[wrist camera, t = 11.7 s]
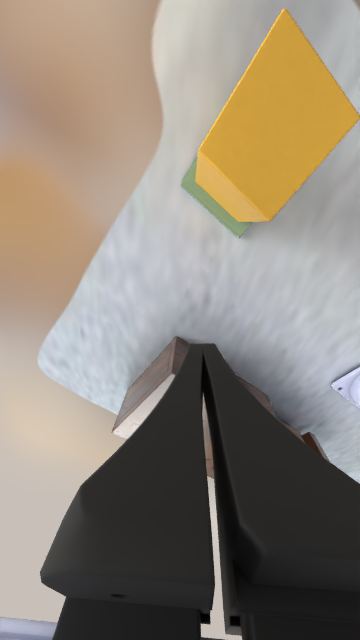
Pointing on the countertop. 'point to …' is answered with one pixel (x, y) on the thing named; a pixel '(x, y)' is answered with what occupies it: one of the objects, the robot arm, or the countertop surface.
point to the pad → (212, 203)
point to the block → (274, 127)
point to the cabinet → (153, 388)
